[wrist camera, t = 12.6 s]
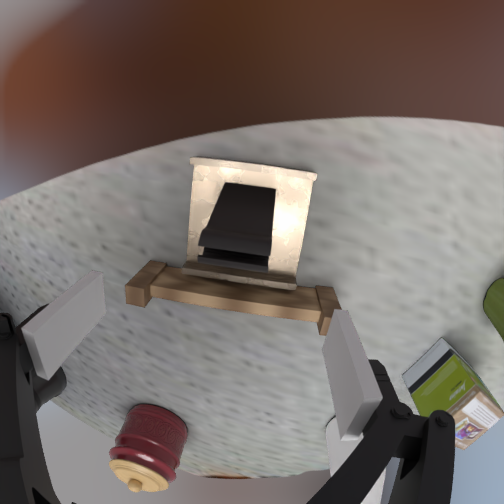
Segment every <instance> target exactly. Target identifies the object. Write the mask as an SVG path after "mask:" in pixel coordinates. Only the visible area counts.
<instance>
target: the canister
mask: <svg viewBox="0 0 504 504" xmlns="http://www.w3.org/2000/svg"><path fill="white" fill-rule="evenodd" d="M186 440H187V427H186V425H185V424H184V422H183V421H182V420H181V419H180V418H179V417H177V416H176V415H175V414H173V413H172V412H170V411H168V410H166V409H163V408H161V407H158V406H154V405H147V404H141V405H137V406H134V407H133V408H132V409H131V410H130V411H129V412H128V414H127V416H126V419H125V422H124V424H123V426H122V428H121V430H120V432H119V434H118V436H117V437H116V439H115V443H116V445H115V447H113V448H111V449H110V451H109V455H110V457H111V459H112V460H111V461H110V462H109V466H110V468H111V469H112V470H113V472H114V473H115V475H116V476H117V477H118V478H119V479H120V480H122V481H123V482H125V483H126V484H128V488H129V489H130V490H131V491H133V492H139V491H140V490H144V491H149V492H156V491H161V490H166V489H167V488H168V487H169V484H168V483H171V482H173V481H174V480H175V479H176V473H175V469H176V468H178V467H179V465H180V458H181V455H182V451H183V448H184V445H185V443H186Z"/></svg>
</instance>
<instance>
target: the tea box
mask: <svg viewBox="0 0 504 504" xmlns="http://www.w3.org/2000/svg"><path fill="white" fill-rule="evenodd" d="M402 377H403V380H404V382H405V384H406V386H407V388H408V390H409V392H410V394H411V397H412V399H413V401H414V403H415V405H416V408H417V410H418V412H419V414H420V416H425V417H429V416H430V414H431V413H432V412H433V411H435V410H444V411H446V412H448V413H449V414H451V415H452V416H453V418H454V420H455V447H457V448H460V449H462V450H465V449H466V448H467V447H468V446H470V445H471V444H472V443H473V442H475V441H476V440H477V439H478V438H479V437H480V436H481V435H482V434H484V433H485V432H486V431H487V430H488V429H490V428H491V427H492V426H493V425H494V424H495V423H496V422H497V421H498V420H499V419H500V418H501V417H502V416H504V412H503V410H502V409H501V407H500V406H499V404H498V403H497V401H496V400H495V398H494V397H493V395H492V394H491V393H490V391H489V390H488V388H487V387H486V386H485V384H484V383H483V381H482V380H481V379H480V377H479V376H478V375H477V373H476V372H475V371H474V369H473V368H472V367H471V366H470V365H469V364H468V363H467V362H466V361H465V360H464V359H463V358H462V357H461V356H460V355H459V354H458V352H457V351H456V350H454V349H453V348H452V347H451V346H450V345H449V344H448V343H447V342H446V341H445V340H444V339H443V338H440V339H439V340H438V341H437V342H436V343H435V344H434V345H433V346H432V347H431V348H430V349H429V350H428V351H427V352H426V353H425V354H424V355H423V356H422V357H421V358H420V359H419V360H418V361H417V362H416V363H415V364H414V365H413V366H412V367H411V368H410V369H409V370H407V371H406V372H405V373H404V374H403V375H402Z"/></svg>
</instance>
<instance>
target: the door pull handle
mask: <svg viewBox="0 0 504 504" xmlns="http://www.w3.org/2000/svg"><path fill="white" fill-rule="evenodd" d="M125 292H126V304H131V305H135V306H140V307H144V308H145V306H146V305H147V304H148V302H149V301H150V300H151V298H152V297H157V298H162V299H167V300H172V301H178V302H183V303H189V304H194V305H200V306H206V307H212V308H218V309H224V310H230V311H237V312H243V313H250V314H257V315H264V316H271V317H279V318H287V319H295V320H303V321H311V322H317V326H318V330H319V335H324V336H327V333H328V329H329V326H330V323H331V319H332V316H333V312H334V309H339V310H342V309H341V307H340V304H339V301H338V299H337V296H336V294H335V291H334V289H333V288H331V287H324V286H315V288H308V287H300V286H296V290H287V289H280V288H273V287H266V286H259V285H252V284H245V283H239V282H232V281H226V280H219V279H213V278H206V277H200V276H194V275H188V274H182V269H180V268H174V267H168V266H167V263H162V262H156V261H151V260H150V261H149V262H148V263H147V264H146V265H145V266H144V267H143V268H142V269H141V270H140V271H139V272H138V273H137V274H136V275H135V276H134V277H133V278H132V279H131V280H130V281H129V282H128V283H127V284H126V285H125Z"/></svg>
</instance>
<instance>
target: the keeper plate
mask: <svg viewBox="0 0 504 504" xmlns="http://www.w3.org/2000/svg"><path fill="white" fill-rule="evenodd" d="M190 164H192V165H194V173H193V183H192V193H191V205H190V217H189V231H188V246H187V261H186V263H185V264H184V265H183V267H182V274H188V275H194V276H200V277H206V278H213V279H219V280H226V281H232V282H239V283H245V284H252V285H259V286H266V287H273V288H280V289H287V290H296V285H297V284H296V278H295V277H296V272H297V267H298V262H299V257H300V252H301V247H302V241H303V236H304V230H305V225H306V219H307V214H308V208H309V202H310V196H311V190H312V184H313V181H316V178H317V174H316V173H314V172H310V171H304V170H298V169H292V168H286V167H279V166H273V165H266V164H258V163H251V162H243V161H235V160H226V159H216V158H206V157H190ZM225 182H227V183H235V184H243V185H251V186H258V187H266V188H273V189H276V197H275V208H274V220H273V231H272V247H271V255H270V256H269V260H268V265H269V268H268V272H267V273H264V272H257V271H250V270H243V269H236V268H229V267H222V266H216V265H209V264H202V263H198V260H197V256H198V254H199V255H202V254H203V250H204V247H201V246H198V242H199V238H200V234H201V232H202V230H203V229H204V228H205V227H206V226H207V224H208V221H209V219H210V216H211V214H212V211H213V209H214V207H215V204H216V202H217V200H218V197H219V195H220V192H221V190H222V188H223V185H224V183H225Z"/></svg>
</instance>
